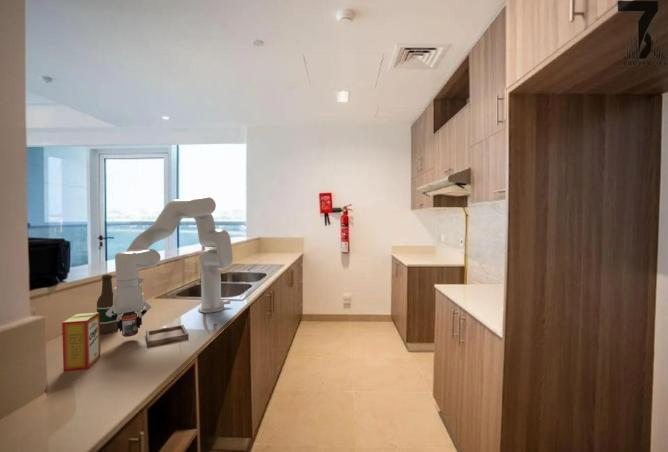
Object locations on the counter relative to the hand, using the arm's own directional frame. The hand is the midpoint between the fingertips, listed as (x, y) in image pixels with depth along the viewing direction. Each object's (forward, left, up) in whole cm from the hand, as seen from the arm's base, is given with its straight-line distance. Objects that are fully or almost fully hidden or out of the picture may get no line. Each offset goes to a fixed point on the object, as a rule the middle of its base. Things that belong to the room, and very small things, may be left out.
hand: (129, 328), depth 126 cm
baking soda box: (+14, +14, -5) cm, 20 cm away
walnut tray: (-12, +4, -5) cm, 14 cm away
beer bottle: (+8, -18, -5) cm, 20 cm away
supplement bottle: (0, 0, -3) cm, 3 cm away
